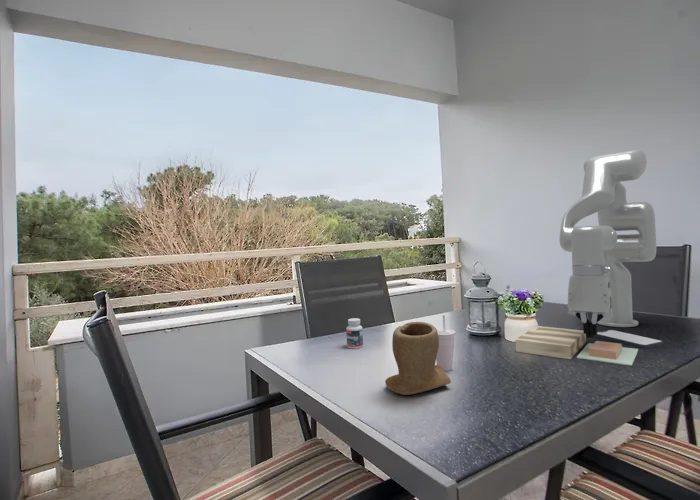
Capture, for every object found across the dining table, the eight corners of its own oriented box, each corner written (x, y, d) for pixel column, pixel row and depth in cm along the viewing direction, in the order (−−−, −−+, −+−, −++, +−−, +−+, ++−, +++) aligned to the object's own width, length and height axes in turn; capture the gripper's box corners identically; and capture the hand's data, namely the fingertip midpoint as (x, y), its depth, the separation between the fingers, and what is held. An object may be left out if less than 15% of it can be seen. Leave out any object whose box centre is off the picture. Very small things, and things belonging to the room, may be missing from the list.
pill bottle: (344, 348, 125) (343, 320, 124) (350, 344, 129) (349, 317, 129) (360, 349, 123) (358, 321, 122) (365, 344, 127) (364, 318, 127)
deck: (536, 336, 127) (536, 325, 127) (585, 342, 118) (585, 330, 118) (515, 351, 112) (515, 339, 112) (570, 359, 103) (570, 346, 103)
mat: (588, 344, 116) (588, 343, 115) (638, 350, 108) (638, 348, 108) (576, 358, 103) (576, 356, 103) (631, 365, 96) (631, 364, 96)
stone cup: (405, 405, 80) (402, 333, 79) (379, 386, 91) (376, 322, 90) (465, 391, 85) (462, 323, 85) (434, 375, 96) (431, 315, 96)
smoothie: (443, 374, 96) (440, 318, 96) (427, 367, 102) (424, 314, 102) (462, 369, 99) (460, 315, 99) (445, 363, 105) (443, 311, 105)
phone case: (665, 346, 111) (611, 334, 126) (665, 341, 111) (611, 329, 126) (645, 351, 108) (591, 337, 123) (645, 345, 108) (591, 332, 123)
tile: (621, 343, 106) (621, 351, 107) (596, 340, 111) (596, 347, 111) (615, 351, 100) (616, 359, 100) (589, 348, 104) (589, 355, 104)
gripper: (622, 270, 106) (624, 337, 106) (561, 269, 115) (563, 331, 116) (618, 273, 100) (621, 343, 100) (554, 272, 110) (557, 336, 110)
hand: (590, 336), depth 108 cm, fingers closed
